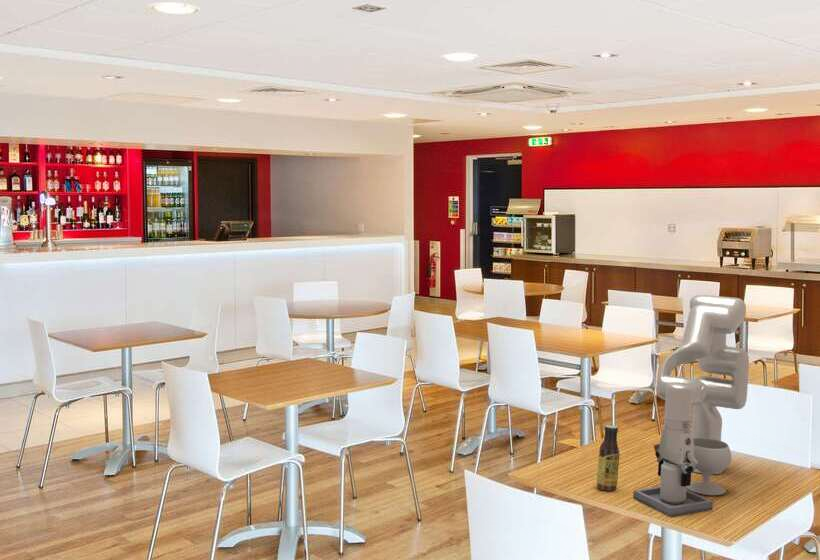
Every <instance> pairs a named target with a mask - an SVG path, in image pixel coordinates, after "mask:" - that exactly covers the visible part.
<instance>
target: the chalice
mask: <svg viewBox="0 0 820 560" xmlns="http://www.w3.org/2000/svg"><path fill="white" fill-rule="evenodd" d="M693 443H694V458H695V459H696V460H697V461H698V465H697V466H696V469H697V470H698V471H699V472H700V473H699V474H701V476H702V481H691V484H690V486H686V490H689V491H691V492H693V493H695V494H698V495H700V494H701V495H705V496H706V495H707V496H721V495H724V494H726V492H727V490H726V488H725V487H723V486H721V485H719V484H715V483H714V482H710V478H711V476H712V475H715V474H714V473H716V472H718V471H721V470H726V469H728V467H729V466H730V465H731V463H732V452H731V449H730V446H729V445H728V443H726V442H724V441H722V440H721V441H719V440H715V439H709V438H694V439H693ZM690 465H691V464H690Z"/></svg>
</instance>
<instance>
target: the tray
mask: <svg viewBox="0 0 820 560" xmlns="http://www.w3.org/2000/svg"><path fill="white" fill-rule="evenodd" d="M632 496H633V497H632V499H633V500H636V501H638V502H640V503H642V504H644V505H645V506H647V507H649V508H652V509H653V510H655V511H657V512H660V513H661V514H664V515H665V516H667V517H670V518H671V517H672V518H673V517H679V516H683V515H690V514H693V513H694V514H695V513H701V512H706V511H707V512H708V511H712V510H713V506H714V505H713V504H714V502H713V500H711V499H710V498H709V499H708V498H707V497H704V496H702V495H700V494H699V493H695V492H692V491H690V490H688V489H686V500H685V501H684V502H683V503H680V504H671V503H667V502H664V501H663V500H662V499H661V498H660V485H659V486H654V487H653V486H652V487H647V488H640V489H634V490H633V495H632Z"/></svg>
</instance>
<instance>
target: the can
mask: <svg viewBox="0 0 820 560" xmlns="http://www.w3.org/2000/svg"><path fill="white" fill-rule="evenodd" d="M663 462H664V463H663V464H662V465H661V476H660V485H659V486H660V498H661V499H662V500H663V501H664V502H667V503H671V504H680V503H683V502H684V501H685V500H686V490H687V488H686V486H684V487H682V486H681V474H682V473H683V471H682V468H681V466H680V465H677V464H675V463H672V462H670V461H668V460H664V461H663ZM685 467H686V466H685ZM686 469H687V467H686Z"/></svg>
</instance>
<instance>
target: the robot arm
mask: <svg viewBox="0 0 820 560" xmlns="http://www.w3.org/2000/svg"><path fill="white" fill-rule="evenodd" d="M746 313H747V306H746V303H745V301H744V300H743V299H742V298H739V297H732V296H731V297H730V296H719V295H712V294H711V295H710V294H709V295H708V294H698V295H694V296H692V297H691V298H690V300H689V312H688V317H687V320H686V325H685V329H684V333H683V336H682V337H683V338H682V342H681V345H680V346H679V347H678V348H676V349H675V350H673V351H672V352H671V353H670V354H668V356H667V357H666V358H665V359H664V360H663V362H662V363H661V366H660V369H659V373H658V377H657V381H656V388H655V389H656V390H655V391H656V394H657V397H659V398H660V399H662V400H665V401H664V403H665V404H664V405H665V406H664V417H663V418H664V419H663V426H662V429H661V433H660V439H659V443H657V444H654V446H653V448H654V452H655V453H654V454H655V457H656V462H657V463H658V464H657V465H658V467H657V468H658V469H657V476H658V477H661V465H662V464H663V463H664V462H663V461H664V460H668V461H670V462H672V463H675V464H677V465H680V466H681V468H682V471H683V473H682V474H681V486H682V487H684V486H690V484H691V482H692V481H691V480H692V474H693V473H698V474H701V473H700V472H699V471H698V470H697V469H696V466H697V465H698V461H697V460H696V459H695V458H694V443H693V439H694V438H709V439H715V440H719V441H722V429H723V418H722V416H721V413H720V411H719V410H718V408H717V407H719V408H726V409H732V410H740V409H743V408H744V407H745V406H746V403H747V398H748V389H749V388H748V385H749V372H750V371H749V370H750V360H749V358H750V357H749V354H748V352H747V351H746V350H745V349H744V348H742V347H735V346H728V345H727V334H728V335H731V334H734V333H735V332H736V331H737V330H738V329H739V327H740V326H741V324H742V323H743V322H744V319H745V317H746ZM693 361H697V364H698V369H700V371H702V372H704V373H707V374H713V375H723V376H729V377H731V379H729V378H723V377H716V376H709V375H708V376H707V375H704V376H703V375H702V376H701V375H700V376H697V377H696V378H691V377H690V378H688V377H683V376H682V377H681V376H674V375H672V373H673V371H674V370H675V369H676V368H678V367H680V366H681V365H683V364H686V363H690V362H693ZM690 464H691V465H690ZM685 466H686V467H687V469H686V467H685ZM724 470H725V469H724ZM724 470H721V471H718V472H716V473H714V474H713V475H718V474H719V475H720V474H722V473H724Z"/></svg>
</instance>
